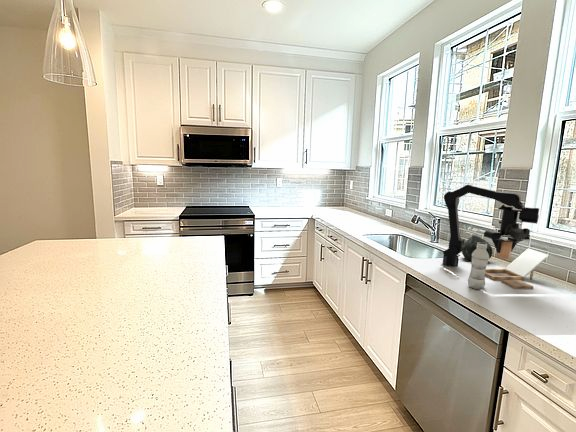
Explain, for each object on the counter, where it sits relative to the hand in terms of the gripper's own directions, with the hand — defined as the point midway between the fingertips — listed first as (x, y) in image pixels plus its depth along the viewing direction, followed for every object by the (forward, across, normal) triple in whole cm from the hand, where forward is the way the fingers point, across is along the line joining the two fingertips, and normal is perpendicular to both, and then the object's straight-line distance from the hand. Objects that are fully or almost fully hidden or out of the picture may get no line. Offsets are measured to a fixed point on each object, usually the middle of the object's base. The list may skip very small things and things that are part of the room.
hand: (503, 252), depth 144 cm
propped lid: (+13, +13, +1) cm, 18 cm away
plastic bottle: (+13, -21, -12) cm, 27 cm away
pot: (+2, 0, 0) cm, 2 cm away
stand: (+13, -1, -11) cm, 17 cm away
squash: (+13, +8, +27) cm, 31 cm away
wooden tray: (+12, 0, +1) cm, 13 cm away
